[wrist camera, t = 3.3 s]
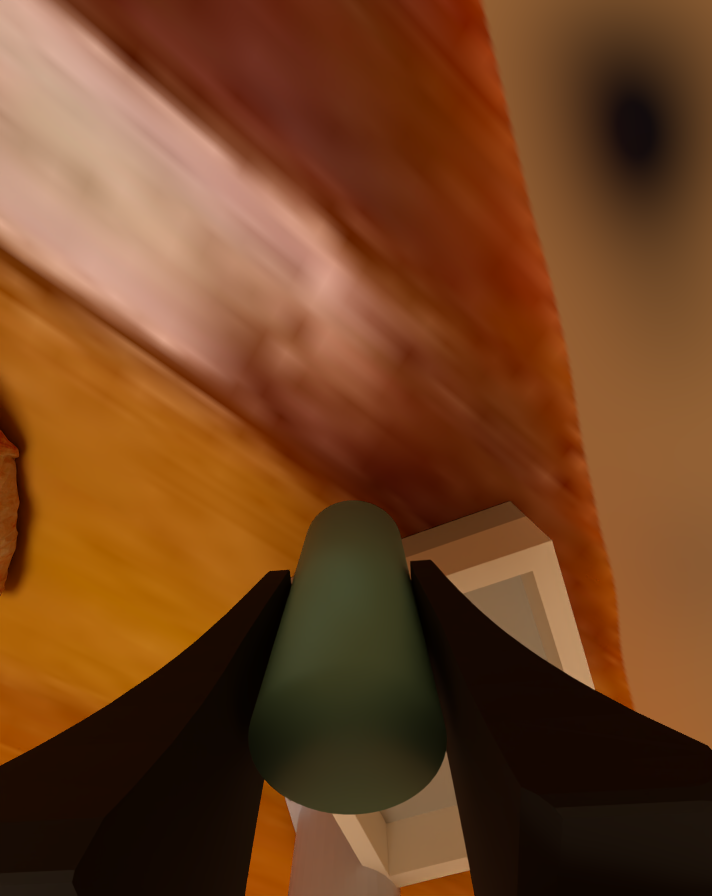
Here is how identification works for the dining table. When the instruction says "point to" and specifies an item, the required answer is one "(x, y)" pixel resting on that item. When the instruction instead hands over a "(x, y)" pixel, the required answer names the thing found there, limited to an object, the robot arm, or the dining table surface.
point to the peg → (349, 674)
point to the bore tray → (521, 616)
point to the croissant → (7, 505)
